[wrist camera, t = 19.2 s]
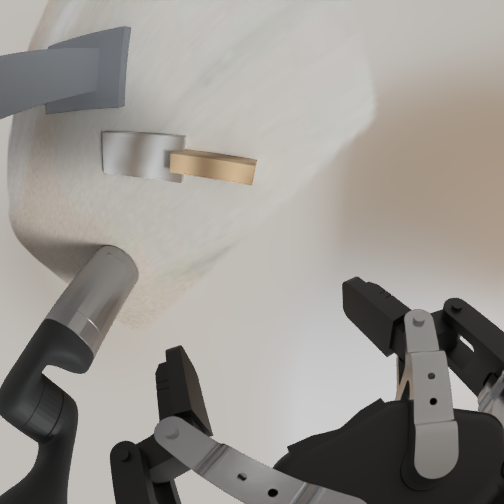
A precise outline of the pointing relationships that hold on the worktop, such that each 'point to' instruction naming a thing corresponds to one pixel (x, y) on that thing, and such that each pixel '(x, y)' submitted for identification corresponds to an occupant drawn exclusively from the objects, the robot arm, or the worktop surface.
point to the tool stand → (67, 74)
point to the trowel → (169, 159)
